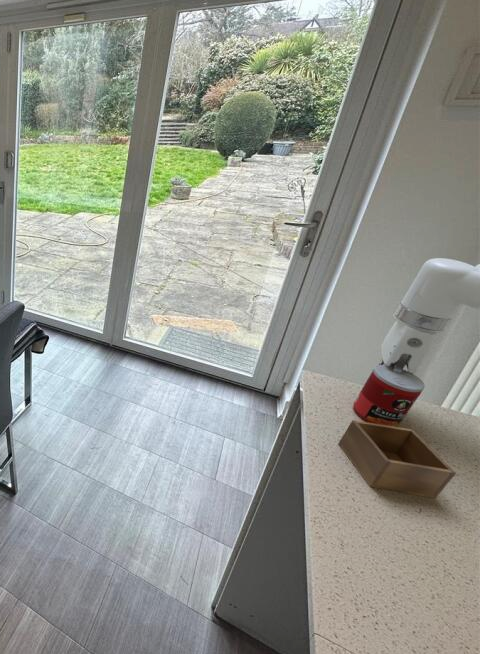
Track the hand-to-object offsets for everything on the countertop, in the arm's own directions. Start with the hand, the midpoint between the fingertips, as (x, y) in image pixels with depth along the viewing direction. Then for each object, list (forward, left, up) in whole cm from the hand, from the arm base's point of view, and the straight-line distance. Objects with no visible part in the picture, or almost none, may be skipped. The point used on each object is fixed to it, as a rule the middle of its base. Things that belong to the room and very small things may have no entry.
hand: (377, 385), depth 93 cm
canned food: (+3, +6, -4) cm, 8 cm away
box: (+10, +22, -4) cm, 25 cm away
